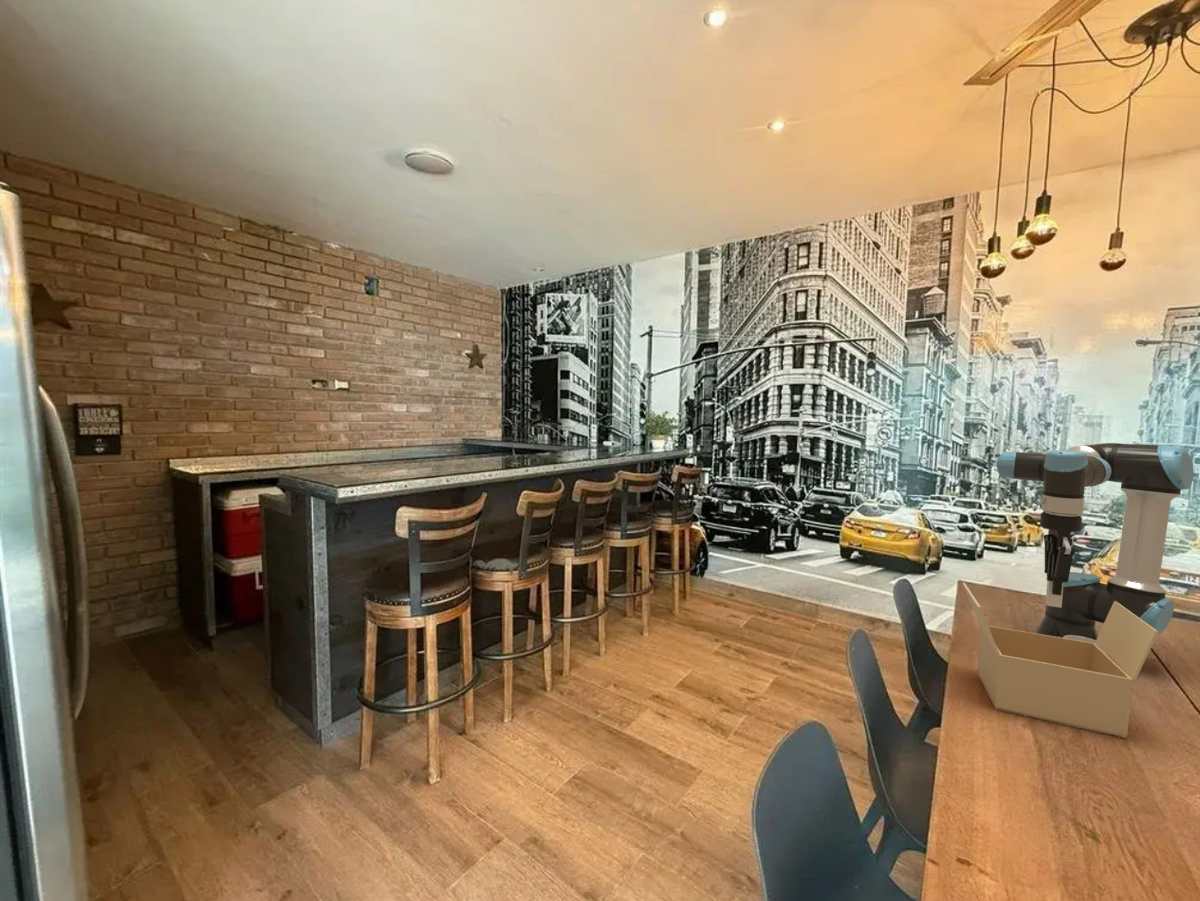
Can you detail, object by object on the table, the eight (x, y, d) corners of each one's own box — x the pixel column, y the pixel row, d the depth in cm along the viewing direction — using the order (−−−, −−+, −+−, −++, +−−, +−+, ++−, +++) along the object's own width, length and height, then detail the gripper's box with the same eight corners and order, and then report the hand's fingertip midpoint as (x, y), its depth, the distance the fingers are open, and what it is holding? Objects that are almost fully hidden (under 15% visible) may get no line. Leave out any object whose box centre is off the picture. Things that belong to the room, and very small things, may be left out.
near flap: (1095, 642, 131) (1097, 643, 130) (1132, 678, 113) (1135, 679, 113) (1114, 600, 128) (1116, 601, 128) (1155, 631, 111) (1158, 632, 111)
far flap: (999, 654, 124) (997, 654, 124) (981, 623, 141) (979, 624, 141) (980, 606, 125) (978, 607, 125) (964, 582, 142) (962, 583, 142)
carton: (1089, 694, 132) (1094, 643, 131) (1126, 738, 114) (1133, 679, 113) (977, 672, 143) (980, 624, 141) (995, 709, 125) (999, 655, 123)
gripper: (1033, 506, 132) (1026, 594, 134) (1050, 516, 120) (1043, 612, 122) (1070, 509, 128) (1063, 599, 130) (1092, 520, 117) (1083, 618, 119)
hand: (1053, 605), depth 126 cm, fingers closed
